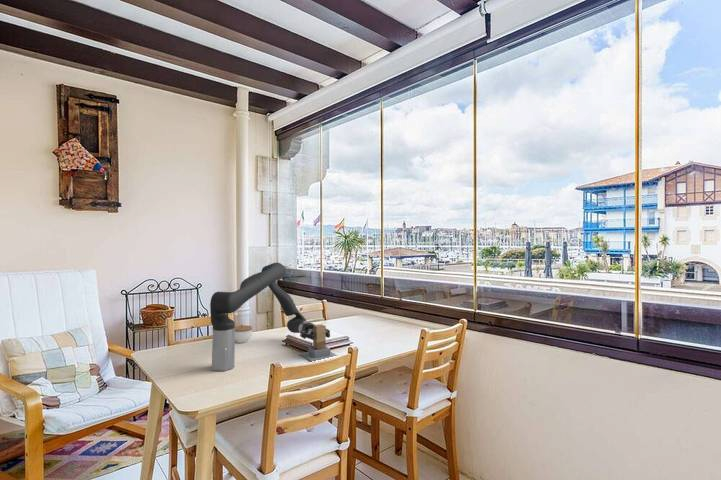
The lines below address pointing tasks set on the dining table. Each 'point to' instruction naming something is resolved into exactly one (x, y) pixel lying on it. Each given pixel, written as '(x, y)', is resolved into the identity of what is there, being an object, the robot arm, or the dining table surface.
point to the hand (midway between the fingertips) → (321, 336)
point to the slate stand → (317, 354)
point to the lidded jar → (242, 333)
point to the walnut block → (319, 337)
